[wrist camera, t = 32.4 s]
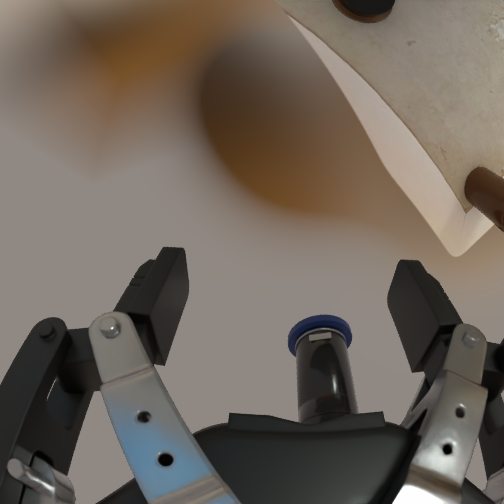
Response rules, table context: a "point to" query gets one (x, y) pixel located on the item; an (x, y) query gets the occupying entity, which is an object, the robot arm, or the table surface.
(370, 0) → the lid
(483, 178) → the jar
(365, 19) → the coaster
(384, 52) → the table surface
